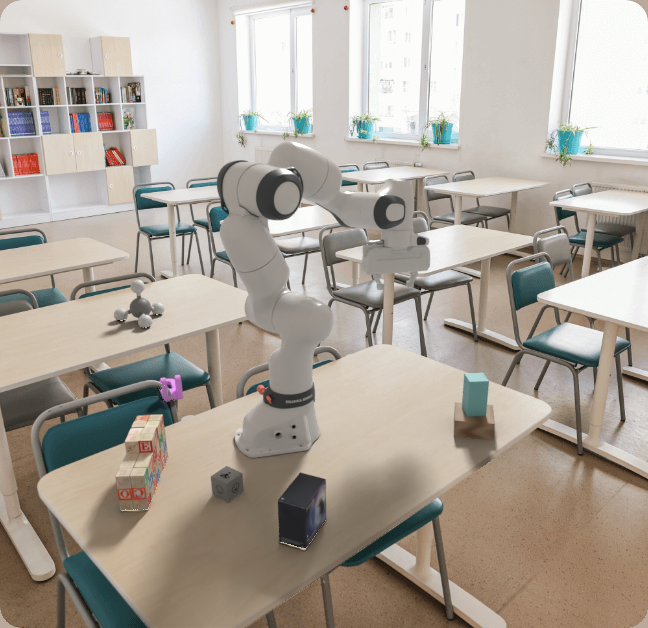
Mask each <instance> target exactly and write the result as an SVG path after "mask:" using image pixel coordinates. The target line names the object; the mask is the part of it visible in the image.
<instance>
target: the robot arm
mask: <svg viewBox="0 0 648 628" xmlns="http://www.w3.org/2000/svg"><path fill="white" fill-rule="evenodd" d="M216 178H217V179H216V191H217V193H218V197H219V200H220V208H221V209H222V211H223V212H225V214H227V217H225V218H224V219H223V221H222V222H221V225H220V227H219V236H220V237H219V238H220V239H221V240H220V241H221V243H222V245H223V249H224V251H225V253H226V255H227V258H228V259H229V261H230V264H231V265H232V267H233V268H234V270H235V272H236V274H237V275H238V277H239V279H240V281H241V282H242V284H243V286H244V288H245V290H246V292H247V297H246V298H245V302H244V308H243V309H244V315H245V318H246V319H247V320H248V321H249V322H251V323H252V324H253V325H254V326H256V327H257V328H259V329H261V330H264V331H267V332H270V333H273V334H276V335H279V336H280V339H281V344H280V347H279V348H276V349H275V350H274V351H273V352H272V353H271V354H270V356H269V358H268V362H267V363H268V378H269V384H268V386H267V387H265V386H264V385H263V384H259V385H258V386H257V387H256V392H258V394H259V395H262V399H261V400H260V401H259V402H258V403H257V404H256V405H254V406H253V408H251V409H250V410H249V411H248V412H246V414H245V415H244V417H243V422H242V427H239V428H238V429H237V428H236V430H235V433H234V442H235V445H236V447H237V448H238V450H239V451H240V452H241V453H242V454H243V455H245V456H247V457H249V458H252V459H253V458H255V459H256V458H261V457H269V456H276V455H284V454H290V453H296V452H297V453H298V452H303V451H308V450H310V449H311V447H312V444H313V443H314V442H315V441H317V439H318V438H319V437H320V436H321V435H320V434H321V428H320V426H319V423H318V419H317V414H316V408H315V402H316V389H315V382H314V380H313V379H314V378H313V359H314V355H315V354H314V353H315V351H316V349H317V347H318V346H319V344H320V343H322V342H323V341H325V340H326V339H327V338H328V337H329V336H330V335H331V332H332V331H333V329H334V323H335V322H334V321H335V317H334V313H333V310H332V308H331V306H329V305H327V304H326V303H324V302H323V301H321V300H319V299H317V298H315V297H312V296H308V295H304V294H301V293H297V292H294V291H292V290H291V289H289V288H288V287H287V286H286V284H287V283H288V281H289V278H290V272H291V271H290V267H289V264H287V261H286V260H285V257H284V255H283V254H282V252H281V249H280V248H279V246H278V244H277V242H276V240H275V238H274V237H273V235H272V233H271V232H270V228H269V220H270V221H284V220H288V219H290V218H291V217H293V216H294V214H295V213H296V212H297V211H298V209H299V207H300V205H301V202H302V199H304V200H306V201H308V202H311V203H314V204H316V205H317V206H318V207H320V208H322V209H324V210H325V211H327V212H329V213H330V214H331V216H333V217H334V219H335V220H336V222H337V223H338V224H339V225H340V226H341V227H343V228H347V229H366V230H374V231H375V230H377V231H380V239H377V240H368V241H367V242H365V243H364V244H363V246H362V258H361V269H360V270H361V273H363V274H364V275H367V276H373V277H372V278H373V279H374V281H375V283H376V290H377V291H384V290H385V283H383V282H382V281H381V278H382V275H390V274H401V273H402V274H403V273H409V275H410V277H409V279H408V280H406V282H405V283H406V284H405V287H407V288H409V289H411V288H414V286H415V284H414V283H415V281H416V280H417V278H418V276H419V275H418V274H419V272H427V271H429V269H430V266H431V251H430V248H429V246H428V245H429V244H430V239H429V237H426V236H423V235H420V234H418V233H416V232H414V224H413V217H414V214H415V192H414V186H413V183H411V181H409V180H406V179H401V178H388V179H386V180H384V183H383V186H381V188H379V189H377V190H375V191H374V192H370V191H369V192H368V191H367V192H366V191H356V190H341V188H342V184H343V174H342V170H341V168H340V166H339V165H338V164H337V163H336V162H335V161H334V160H333V159H331V158H330V157H328V156H327V155H325V154H323V153H321V152H320V151H319V150H317V149H314V148H312V147H310V146H307V145H304V144H302V143H300V142H296V141H290V140H288V141H282V142H280V143H279V144H278V145H276V146H275V147H274V148H273V150H272V152H271V153H270V155H269V158H268V161H267V162H266V163H265V164H264V163H261V162H255V161H254V162H253V161H248V160H246V159H245V160H244V159H243V160H242V159H241V160H238V159H237V160H233V161H229V162H227V163H225V164H224V165H223V166H222V167H221V168H220V170H219V172H218V173H217V177H216Z"/></svg>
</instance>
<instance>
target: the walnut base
mask: <svg viewBox="0 0 648 628" xmlns="http://www.w3.org/2000/svg"><path fill="white" fill-rule="evenodd" d="M453 411H454V413H453V437H456V436H458V437H459V438H467V437H469V439H470V438H471V439H480V440H481V439H482V440H489V441H490V440H492V441H493V440H494V438H495V427H496V420H495V414H494V413H495V412H494V411H495V410H494V405H493V404H487V411H486V416H471V417H467V416H466V414H465V412H464V410H463V409H462V402H456V401H455V402H454V410H453Z"/></svg>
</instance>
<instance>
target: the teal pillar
mask: <svg viewBox="0 0 648 628" xmlns="http://www.w3.org/2000/svg"><path fill="white" fill-rule="evenodd" d="M489 386H490V380H489V379H488V377H487V376H486V375H485V373H484V372H469V373H468V372H465V373H463V386H462V387H463V388H462V397H461V398H462V402H461V403H462V409H463V410H464V412H465V414H466V416H467V417H471V416H486V411H487V405H488V397H489Z"/></svg>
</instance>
